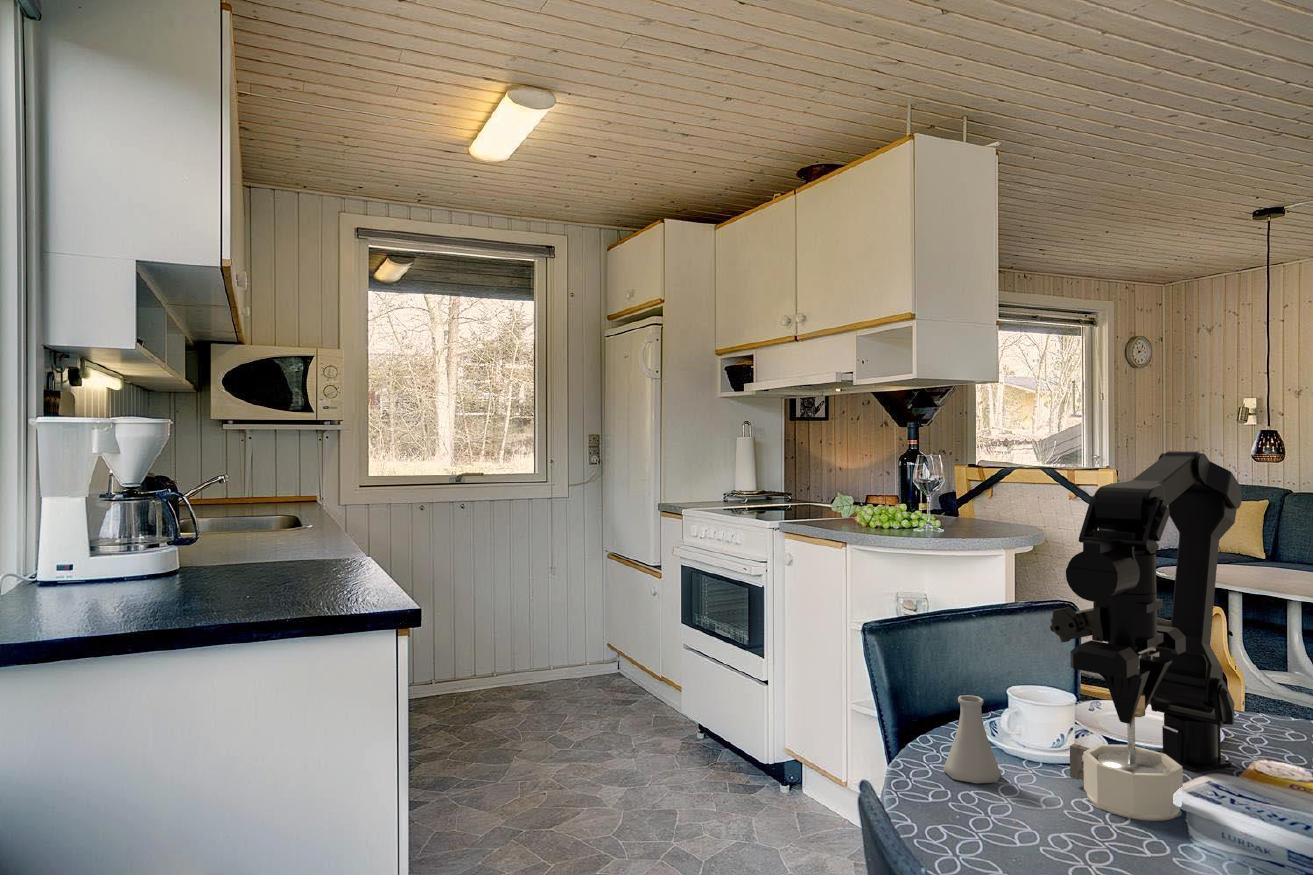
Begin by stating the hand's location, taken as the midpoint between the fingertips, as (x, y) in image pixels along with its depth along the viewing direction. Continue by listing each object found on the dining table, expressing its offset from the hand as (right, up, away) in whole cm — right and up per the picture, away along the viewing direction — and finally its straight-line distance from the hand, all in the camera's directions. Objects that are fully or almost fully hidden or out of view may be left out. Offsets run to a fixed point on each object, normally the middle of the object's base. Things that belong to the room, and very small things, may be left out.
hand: (1131, 719), depth 101 cm
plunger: (0, -6, 0) cm, 6 cm away
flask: (-16, -11, +9) cm, 21 cm away
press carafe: (-1, -10, +1) cm, 10 cm away
